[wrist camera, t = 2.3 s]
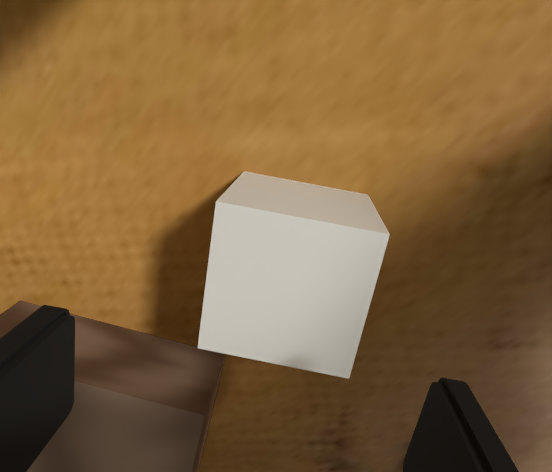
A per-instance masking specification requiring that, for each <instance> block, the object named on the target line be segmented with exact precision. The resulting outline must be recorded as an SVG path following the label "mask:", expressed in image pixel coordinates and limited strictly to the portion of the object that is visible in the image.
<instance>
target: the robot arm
mask: <svg viewBox="0 0 552 472" xmlns="http://www.w3.org/2000/svg"><path fill="white" fill-rule="evenodd" d="M74 374H75V318H74V316H71V315H70V313H69V310H67V309H64V308H59V307H53V306H48V305H43V306H41V307H40V308H39V309H37V310H36V311H35V312H34V313H32V314H31V315H30V316H28V317H27V318H26V319H25V320H23V321H22V322H21V323H19V324H18V325H17V326H16V327H14V328H13V329H12V330H11V331H9V332H8V333H7V334H5V335H4V336H3V337H2V338H0V472H27V470H28V469H29V468H30V466H31V465H32V464H33V462H34V461H35V459H36V458H37V457H38V455H39V454H40V453H41V451H42V450H43V449H44V447H45V446H46V445H47V443H48V442H49V441H50V439H51V438H52V437H53V435H54V434H55V433H56V431H57V430H58V429H59V427H60V426H61V425H62V423H63V422H64V421H65V419H66V418H67V417H68V415H69V414H70V412H71V410H72V407H73V403H74ZM403 472H519V471H518V470H517V468H516V466H515V465H514V463H513V461H512V460H511V458H510V456H509V454H508V453H507V451H506V449H505V448H504V446H503V444H502V443H501V441H500V439H499V437H498V436H497V434H496V432H495V431H494V429H493V427H492V426H491V424H490V422H489V420H488V419H487V417H486V415H485V414H484V412H483V410H482V408H481V407H480V405H479V403H478V402H477V400H476V398H475V397H474V395H473V393H472V391H471V390H470V388H469V386H468V385H467V384H466V382H463V381H458V380H452V379H447V378H440V380H439V381H438V383H437V382H433V383H432V384H431V386H430V388H429V391H428V394H427V397H426V400H425V403H424V405H423V408H422V411H421V414H420V417H419V420H418V422H417V425H416V428H415V431H414V434H413V437H412V439H411V442H410V445H409V448H408V451H407V454H406V456H405V459H404V463H403Z"/></svg>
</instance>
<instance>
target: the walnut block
mask: <svg viewBox="0 0 552 472" xmlns="http://www.w3.org/2000/svg"><path fill="white" fill-rule="evenodd" d="M40 307H41V306H39V305H35V304H31V303H28V302H24V301H19V302H18V303H16V304H15V305H13V306H12V307H11V308H9V309H8V310H6V311H5V312H3V313H2V314H1V315H0V338H2V337H3V336H4V335H5V334H7V333H8V332H9V331H11V330H12V329H13V328H14V327H16V326H17V325H18V324H19V323H21V322H22V321H23V320H25V319H26V318H27V317H28V316H30V315H31V314H32V313H34V312H35V311H36V310H37V309H39V308H40ZM70 315H71V316H74V318H75V374H74V403H73V407H72V410H71V412H70V414H69V415H68V417H67V418H66V419H65V421H64V422H63V423H62V425H61V426H60V427H59V429H58V430H57V431H56V433H55V434H54V435H53V437H52V438H51V439H50V441H49V442H48V443H47V445H46V446H45V447H44V449H43V450H42V451H41V453H40V454H39V455H38V457H37V458H36V459H35V461H34V462H33V464H32V465H31V466H30V468H29V469H28V470H27V472H198V469H199V465H200V461H201V457H202V453H203V448H204V444H205V440H206V436H207V432H208V427H209V423H210V419H211V415H212V411H213V406H214V402H215V398H216V394H217V390H218V385H219V381H220V377H221V373H222V369H223V365H224V360H225V356H226V354H222V353H218V352H214V351H209V350H204V349H199V348H198V347H195V346H191V345H188V344H184V343H180V342H176V341H172V340H169V339H165V338H161V337H157V336H153V335H150V334H146V333H142V332H138V331H134V330H130V329H127V328H123V327H119V326H115V325H111V324H108V323H104V322H100V321H96V320H92V319H89V318H85V317H81V316H77V315H73V314H70Z"/></svg>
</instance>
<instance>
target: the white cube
mask: <svg viewBox="0 0 552 472" xmlns="http://www.w3.org/2000/svg"><path fill="white" fill-rule="evenodd" d="M389 236H390V234H389V232H388V230H387V228H386V226H385V225H384V223H383V221H382V219H381V217H380V216H379V214H378V212H377V210H376V208H375V206H374V205H373V203H372V201H371V199H370V197H369V196H368V195H367V194H362V193H357V192H351V191H346V190H341V189H335V188H330V187H325V186H320V185H314V184H309V183H304V182H298V181H293V180H288V179H282V178H277V177H272V176H267V175H261V174H256V173H251V172H245V171H244V172H243V173H242V174H241V175H240V176H239V177H238V178H237V179H236V180H235V181H234V182H233V184H232V185H231V186H230V187H229V188H228V189H227V190H226V191H225V192H224V193H223V194H222V195H221V196H220V197H219V198H218V200H217V201H216V204H215V212H214V220H213V228H212V236H211V244H210V252H209V260H208V268H207V276H206V284H205V292H204V300H203V308H202V316H201V324H200V332H199V340H198V348H199V349H204V350H209V351H214V352H219V353H224V354H229V355H234V356H238V357H243V358H248V359H253V360H258V361H263V362H268V363H273V364H278V365H283V366H288V367H293V368H298V369H303V370H308V371H313V372H318V373H323V374H328V375H333V376H338V377H343V378H348V379H349V377H350V374H351V370H352V367H353V363H354V360H355V356H356V353H357V349H358V346H359V342H360V338H361V335H362V331H363V328H364V324H365V321H366V317H367V314H368V310H369V307H370V303H371V299H372V296H373V292H374V289H375V285H376V282H377V278H378V275H379V271H380V268H381V264H382V260H383V257H384V253H385V250H386V246H387V243H388V239H389Z"/></svg>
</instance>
